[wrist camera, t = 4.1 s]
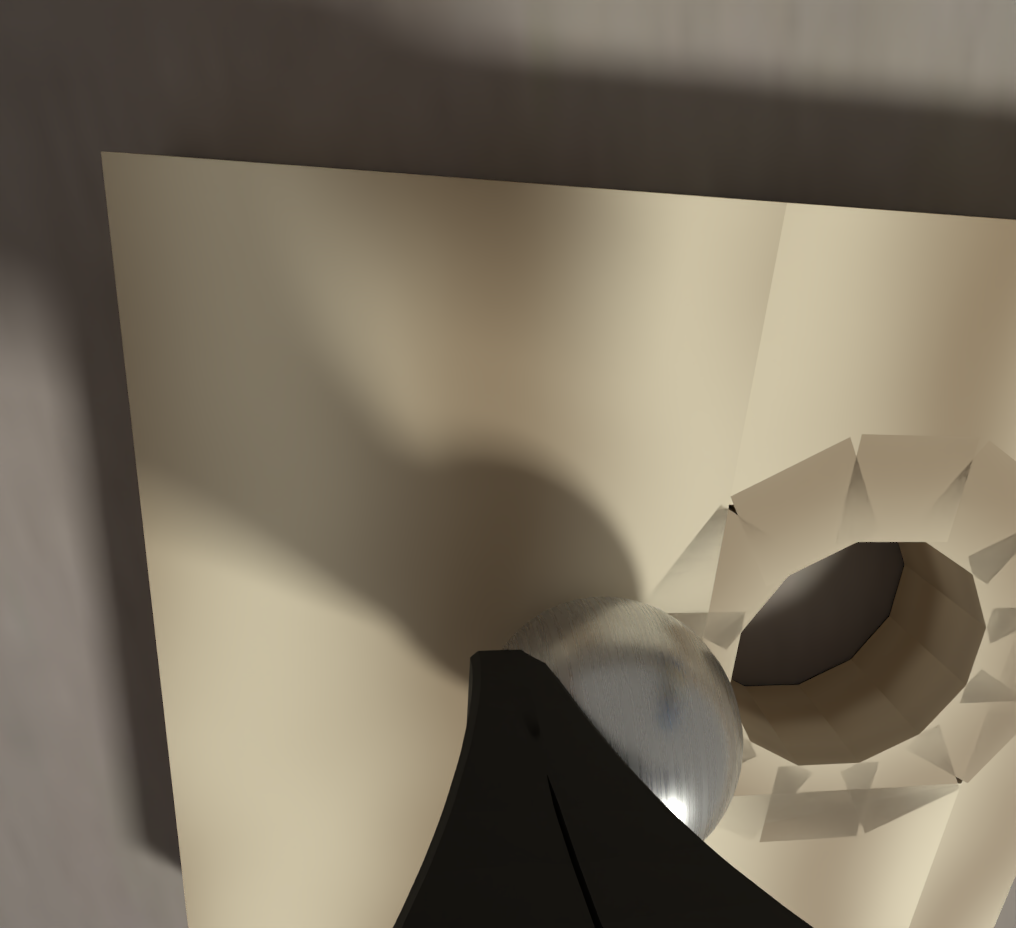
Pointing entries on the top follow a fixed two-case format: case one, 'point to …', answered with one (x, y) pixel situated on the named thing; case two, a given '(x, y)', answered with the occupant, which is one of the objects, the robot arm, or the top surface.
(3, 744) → the top surface
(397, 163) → the top surface
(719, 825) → the hole plate
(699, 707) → the steel ball
